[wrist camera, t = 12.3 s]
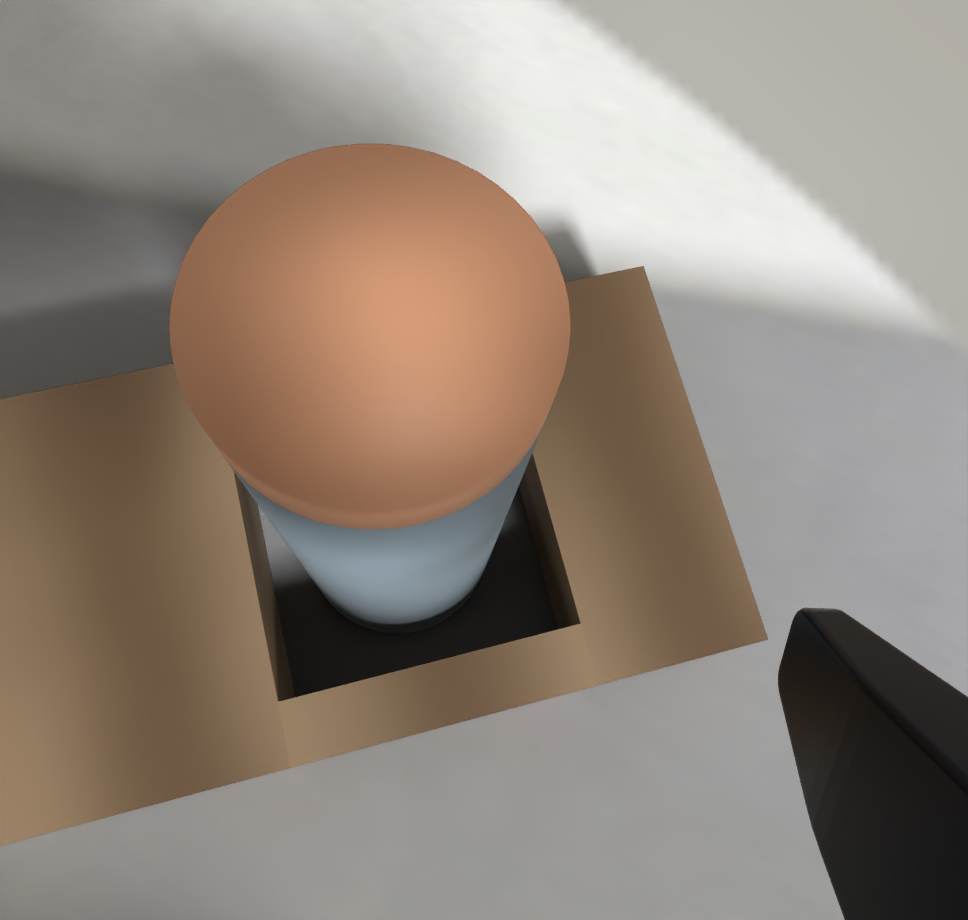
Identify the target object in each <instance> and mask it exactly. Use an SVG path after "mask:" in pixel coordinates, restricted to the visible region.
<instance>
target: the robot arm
mask: <svg viewBox="0 0 968 920" xmlns="http://www.w3.org/2000/svg"><path fill="white" fill-rule="evenodd" d="M778 687H779V694H780V698H781V702H782V707H783V711H784V715H785V719H786V723H787V727H788V732H789V736H790V740H791V744H792V748H793V753H794V757H795V761H796V765H797V769H798V774H799V778H800V782H801V786H802V790H803V795H804V799H805V803H806V807H807V811H808V814H809V818H810V822H811V825H812V829H813V832H814V835H815V838H816V841H817V844H818V847H819V850H820V852H821V855H822V858H823V861H824V864H825V866H826V869H827V872H828V875H829V877H830V880H831V883H832V886H833V888H834V891H835V894H836V897H837V899H838V902H839V905H840V908H841V911H842V913H843V916H844V919H845V920H968V697H967V696H966V695H964V694H963V693H961V692H960V691H958V690H957V689H955V688H954V687H952V686H951V685H950V684H948V683H947V682H945V681H944V680H942V679H941V678H939V677H938V676H936V675H935V674H934V673H932V672H931V671H929V670H928V669H926V668H925V667H923V666H922V665H920V664H919V663H917V662H916V661H915V660H913V659H912V658H910V657H909V656H907V655H906V654H904V653H903V652H901V651H900V650H899V649H897V648H896V647H894V646H893V645H891V644H890V643H888V642H887V641H885V640H884V639H882V638H881V637H880V636H878V635H877V634H875V633H874V632H872V631H871V630H869V629H868V628H866V627H865V626H864V625H862V624H861V623H859V622H858V621H856V620H855V619H853V618H852V617H850V616H849V615H847V614H846V613H844V612H843V611H841V610H838V609H828V608H803V609H801V610H799V611H798V612H797V613H796V615H795V616H794V619H793V621H792V625H791V628H790V632H789V635H788V639H787V642H786V646H785V649H784V653H783V657H782V660H781V664H780V667H779V673H778Z"/></svg>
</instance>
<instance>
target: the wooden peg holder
mask: <svg viewBox="0 0 968 920" xmlns="http://www.w3.org/2000/svg"><path fill="white" fill-rule="evenodd" d="M565 286H566V291H567V296H568V300H569V310H570V324H571V327H570V342H569V352H568V356H567V361H566V366H565V370H564V374H563V377H562V380H561V382H560V385H559V388H558V390H557V393H556V396H555V398H554V401H553V403H552V406H551V408H550V411H549V413H548V415H547V418H546V420H545V423H544V425H543V428H542V430H541V433H540V435H539V437H538V440H537V442H536V445H535V447H534V450H533V452H532V455H531V457H530V460H529V462H528V464H527V467H526V469H525V472H524V474H523V477H522V479H521V482H520V484H519V490H520V494H521V497H522V501H523V504H524V508H525V512H526V515H527V519H528V523H529V526H530V530H531V533H532V537H533V541H534V544H535V548H536V552H537V555H538V559H539V562H540V566H541V570H542V573H543V577H544V581H545V584H546V588H547V591H548V595H549V599H550V602H551V606H552V610H553V613H554V617H555V620H556V624H557V628H558V630H554V631H550V632H546V633H542V634H538V635H535V636H531V637H527V638H523V639H519V640H515V641H511V642H508V643H504V644H500V645H496V646H492V647H488V648H484V649H480V650H477V651H473V652H469V653H465V654H461V655H457V656H453V657H450V658H446V659H442V660H438V661H434V662H430V663H426V664H422V665H419V666H415V667H411V668H407V669H403V670H399V671H395V672H392V673H388V674H384V675H380V676H376V677H372V678H368V679H365V680H361V681H357V682H353V683H349V684H345V685H341V686H337V687H334V688H330V689H326V690H322V691H318V692H314V693H310V694H307V695H303V696H299V697H295V691H294V686H293V681H292V676H291V671H290V666H289V661H288V656H287V651H286V646H285V641H284V636H283V631H282V626H281V621H280V616H279V611H278V606H277V601H276V596H275V591H274V586H273V580H272V575H271V570H270V565H269V560H268V555H267V550H266V545H265V540H264V535H263V530H262V525H261V520H260V515H259V510H258V505H257V502H256V501H255V500H254V498H253V497H252V496H251V494H250V493H249V491H248V490H247V489H246V487H245V486H244V485H243V483H242V482H241V480H240V479H239V478H238V476H237V475H236V473H235V472H234V471H233V469H232V468H231V467H230V465H229V464H228V462H227V461H226V460H225V458H224V457H223V456H222V454H221V453H220V451H219V450H218V449H217V447H216V446H215V444H214V443H213V442H212V440H211V439H210V438H209V436H208V435H207V433H206V432H205V431H204V429H203V428H202V427H201V425H200V424H199V422H198V420H197V419H196V417H195V415H194V413H193V412H192V410H191V408H190V407H189V405H188V403H187V401H186V399H185V396H184V394H183V391H182V389H181V386H180V384H179V381H178V379H177V375H176V371H175V367H174V363H173V364H168V365H163V366H158V367H153V368H148V369H144V370H139V371H134V372H129V373H124V374H119V375H115V376H110V377H105V378H100V379H95V380H90V381H86V382H81V383H76V384H71V385H66V386H61V387H57V388H52V389H47V390H42V391H37V392H32V393H28V394H23V395H18V396H13V397H8V398H3V399H0V846H1V845H5V844H9V843H12V842H16V841H20V840H24V839H27V838H31V837H35V836H38V835H42V834H46V833H50V832H53V831H57V830H61V829H64V828H68V827H72V826H76V825H79V824H83V823H87V822H91V821H94V820H98V819H102V818H105V817H109V816H113V815H117V814H120V813H124V812H128V811H131V810H135V809H139V808H143V807H146V806H150V805H154V804H158V803H161V802H165V801H169V800H172V799H176V798H180V797H184V796H187V795H191V794H195V793H198V792H202V791H206V790H210V789H213V788H217V787H221V786H225V785H228V784H232V783H236V782H239V781H243V780H247V779H251V778H254V777H258V776H262V775H265V774H269V773H273V772H277V771H280V770H284V769H288V768H292V767H295V766H299V765H303V764H306V763H310V762H314V761H318V760H321V759H325V758H329V757H332V756H336V755H340V754H344V753H347V752H351V751H355V750H359V749H362V748H366V747H370V746H373V745H377V744H381V743H385V742H388V741H392V740H396V739H399V738H403V737H407V736H411V735H414V734H418V733H422V732H426V731H429V730H433V729H437V728H440V727H444V726H448V725H452V724H455V723H459V722H463V721H466V720H470V719H474V718H478V717H481V716H485V715H489V714H493V713H496V712H500V711H504V710H507V709H511V708H515V707H519V706H522V705H526V704H530V703H533V702H537V701H541V700H545V699H548V698H552V697H556V696H560V695H563V694H567V693H571V692H574V691H578V690H582V689H586V688H589V687H593V686H597V685H600V684H604V683H608V682H612V681H615V680H619V679H623V678H627V677H630V676H634V675H638V674H641V673H645V672H649V671H653V670H656V669H660V668H664V667H667V666H671V665H675V664H679V663H682V662H686V661H690V660H694V659H697V658H701V657H705V656H708V655H712V654H716V653H720V652H723V651H727V650H731V649H734V648H738V647H742V646H746V645H749V644H753V643H757V642H760V641H764V640H768V637H767V634H766V631H765V628H764V625H763V622H762V619H761V616H760V613H759V610H758V607H757V604H756V601H755V598H754V596H753V593H752V590H751V587H750V584H749V581H748V578H747V575H746V572H745V569H744V566H743V563H742V560H741V557H740V554H739V551H738V548H737V545H736V542H735V539H734V536H733V533H732V530H731V527H730V524H729V521H728V518H727V515H726V512H725V509H724V506H723V503H722V500H721V497H720V494H719V491H718V488H717V485H716V482H715V479H714V476H713V473H712V470H711V467H710V464H709V461H708V458H707V455H706V452H705V449H704V446H703V443H702V440H701V437H700V434H699V431H698V428H697V425H696V422H695V419H694V416H693V413H692V410H691V407H690V404H689V401H688V398H687V395H686V392H685V389H684V386H683V383H682V380H681V377H680V374H679V371H678V368H677V365H676V362H675V359H674V356H673V353H672V350H671V347H670V344H669V341H668V338H667V335H666V332H665V329H664V326H663V323H662V320H661V317H660V314H659V311H658V308H657V305H656V302H655V299H654V296H653V293H652V290H651V287H650V284H649V281H648V278H647V275H646V272H645V269H644V266H641V267H636V268H632V269H627V270H622V271H617V272H612V273H607V274H603V275H598V276H593V277H588V278H583V279H578V280H574V281H569V282H565Z"/></svg>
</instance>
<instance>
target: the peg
mask: <svg viewBox="0 0 968 920" xmlns="http://www.w3.org/2000/svg"><path fill="white" fill-rule="evenodd" d="M570 327H571V324H570V310H569V300H568V296H567V291H566V286H565V282H564V278H563V275H562V273H561V270H560V267H559V264H558V262H557V259H556V257H555V255H554V253H553V251H552V249H551V247H550V245H549V243H548V241H547V239H546V238H545V236H544V235H543V233H542V232H541V230H540V229H539V227H538V226H537V225H536V223H535V222H534V220H533V219H532V218H531V216H530V215H529V214H528V213H527V212H526V211H525V210H524V209H523V208H522V207H521V206H520V205H519V203H518V202H517V201H516V200H515V199H514V198H512V197H511V196H510V195H509V194H508V193H506V192H505V191H504V190H503V189H502V188H500V187H499V186H498V185H497V184H495V183H494V182H492V181H491V180H489V179H488V178H486V177H485V176H483V175H482V174H480V173H479V172H477V171H475V170H473V169H471V168H469V167H467V166H465V165H463V164H461V163H459V162H457V161H455V160H452V159H449V158H446V157H444V156H441V155H438V154H435V153H433V152H428V151H424V150H420V149H416V148H411V147H406V146H397V145H389V144H353V145H344V146H335V147H330V148H326V149H321V150H317V151H312V152H309V153H306V154H303V155H300V156H297V157H295V158H292V159H289V160H286V161H284V162H282V163H280V164H278V165H276V166H274V167H272V168H270V169H268V170H266V171H264V172H262V173H261V174H259V175H258V176H256V177H255V178H253V179H252V180H250V181H249V182H247V183H245V184H244V185H243V186H242V187H240V188H239V189H238V190H237V191H236V192H234V193H233V194H232V195H231V196H230V197H228V198H227V199H226V200H225V201H224V202H223V203H222V204H221V205H220V206H219V207H218V209H217V210H216V211H215V212H214V213H213V214H212V215H211V216H210V217H209V218H208V220H207V221H206V223H205V224H204V225H203V227H202V228H201V230H200V231H199V233H198V234H197V235H196V237H195V238H194V240H193V242H192V244H191V246H190V248H189V250H188V252H187V254H186V256H185V257H184V260H183V262H182V265H181V268H180V271H179V273H178V276H177V279H176V282H175V287H174V292H173V297H172V301H171V309H170V326H169V332H170V344H171V354H172V359H173V363H174V367H175V371H176V375H177V379H178V381H179V384H180V386H181V389H182V391H183V394H184V396H185V399H186V401H187V403H188V405H189V407H190V408H191V410H192V412H193V413H194V415H195V417H196V419H197V420H198V422H199V424H200V425H201V427H202V428H203V429H204V431H205V432H206V433H207V435H208V436H209V438H210V439H211V440H212V442H213V443H214V444H215V446H216V447H217V449H218V450H219V451H220V453H221V454H222V456H223V457H224V458H225V460H226V461H227V462H228V464H229V465H230V467H231V468H232V469H233V471H234V472H235V473H236V475H237V476H238V478H239V479H240V480H241V482H242V483H243V485H244V486H245V487H246V489H247V490H248V491H249V493H250V494H251V496H252V497H253V498H254V500H255V501H256V502H257V504H258V505H259V507H260V508H261V509H262V511H263V512H264V514H265V515H266V516H267V518H268V519H269V520H270V522H271V523H272V525H273V526H274V527H275V529H276V530H277V531H278V533H279V534H280V536H281V537H282V538H283V540H284V541H285V543H286V544H287V545H288V547H289V548H290V549H291V551H292V552H293V554H294V555H295V556H296V558H297V559H298V560H299V562H300V563H301V565H302V566H303V567H304V569H305V570H306V572H307V573H308V574H309V576H310V577H311V578H312V580H313V581H314V583H315V584H316V585H317V587H318V588H319V589H320V591H321V592H322V594H323V595H324V596H325V598H326V599H327V600H328V601H329V603H330V604H331V605H332V606H333V607H334V608H335V609H336V610H337V611H338V612H339V613H341V614H342V615H343V616H345V617H346V618H348V619H349V620H351V621H353V622H354V623H356V624H358V625H360V626H363V627H366V628H368V629H371V630H375V631H380V632H386V633H409V632H415V631H419V630H423V629H426V628H429V627H432V626H434V625H436V624H438V623H440V622H442V621H444V620H445V619H447V618H448V617H450V616H451V615H453V614H454V613H455V612H456V611H457V610H459V609H460V608H461V607H462V606H463V605H464V604H465V603H466V601H467V600H468V599H469V598H470V596H471V595H472V594H473V592H474V591H475V589H476V587H477V585H478V583H479V581H480V580H481V577H482V575H483V572H484V570H485V567H486V565H487V562H488V560H489V558H490V555H491V553H492V550H493V548H494V545H495V543H496V540H497V538H498V535H499V533H500V531H501V528H502V526H503V523H504V521H505V518H506V516H507V513H508V511H509V509H510V506H511V504H512V501H513V499H514V496H515V494H516V491H517V489H518V486H519V484H520V482H521V479H522V477H523V474H524V472H525V469H526V467H527V464H528V462H529V460H530V457H531V455H532V452H533V450H534V447H535V445H536V442H537V440H538V437H539V435H540V433H541V430H542V428H543V425H544V423H545V420H546V418H547V415H548V413H549V411H550V408H551V406H552V403H553V401H554V398H555V396H556V393H557V390H558V388H559V385H560V382H561V380H562V377H563V374H564V370H565V366H566V361H567V356H568V352H569V342H570Z"/></svg>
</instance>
